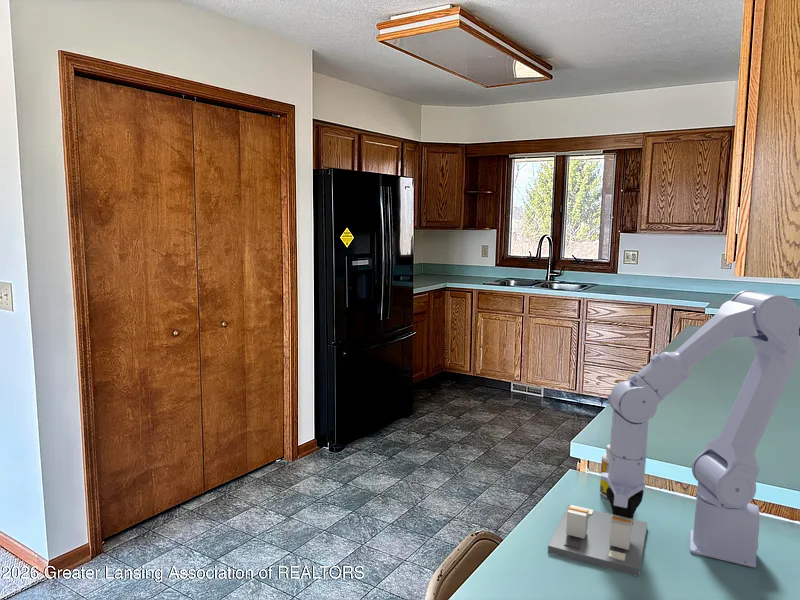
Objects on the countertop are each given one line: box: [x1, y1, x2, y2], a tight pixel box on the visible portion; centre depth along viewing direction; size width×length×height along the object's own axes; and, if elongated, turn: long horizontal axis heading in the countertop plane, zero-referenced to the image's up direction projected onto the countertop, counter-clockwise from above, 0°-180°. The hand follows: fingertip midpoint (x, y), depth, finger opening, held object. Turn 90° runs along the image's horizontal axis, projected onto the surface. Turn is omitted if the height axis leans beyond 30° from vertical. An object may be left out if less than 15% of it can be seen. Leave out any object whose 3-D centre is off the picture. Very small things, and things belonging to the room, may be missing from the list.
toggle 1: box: [566, 504, 590, 539], centre depth 99 cm, size 3×3×4 cm
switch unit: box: [547, 504, 648, 577], centre depth 100 cm, size 14×17×1 cm
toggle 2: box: [609, 514, 632, 550], centre depth 96 cm, size 3×3×4 cm
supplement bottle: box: [599, 443, 610, 499], centre depth 117 cm, size 6×6×10 cm
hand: (622, 530), depth 99 cm, fingers closed
